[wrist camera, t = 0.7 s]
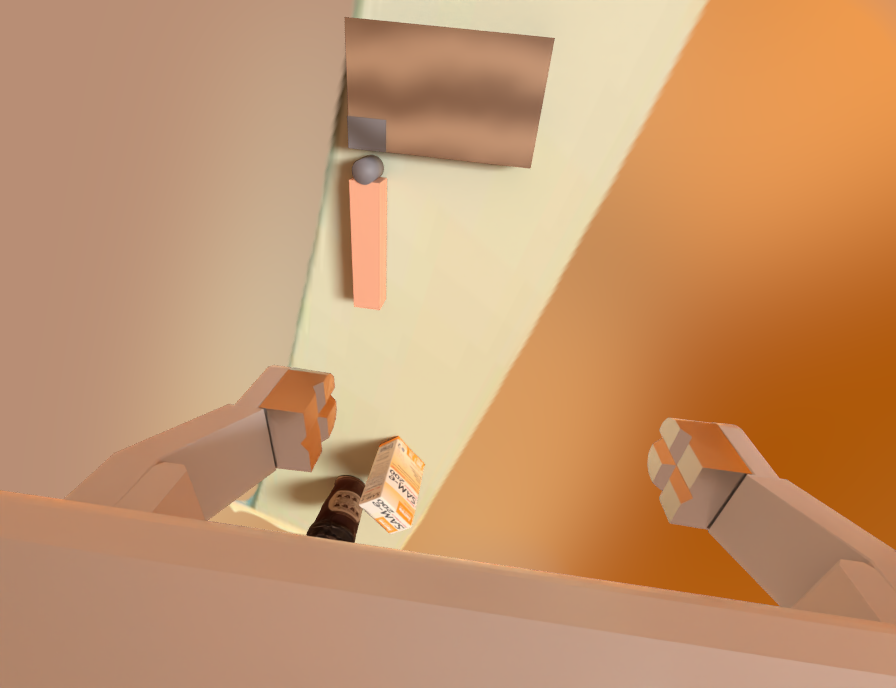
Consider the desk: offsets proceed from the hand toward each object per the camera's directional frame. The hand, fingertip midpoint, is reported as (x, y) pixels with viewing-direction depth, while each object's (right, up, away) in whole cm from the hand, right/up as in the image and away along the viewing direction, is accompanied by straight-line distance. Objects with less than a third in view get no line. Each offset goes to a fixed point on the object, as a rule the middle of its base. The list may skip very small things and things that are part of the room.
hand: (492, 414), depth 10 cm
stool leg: (-11, +16, +42) cm, 46 cm away
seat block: (-1, +28, +33) cm, 43 cm away
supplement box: (-9, -18, +63) cm, 66 cm away
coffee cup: (-20, -26, +69) cm, 77 cm away
